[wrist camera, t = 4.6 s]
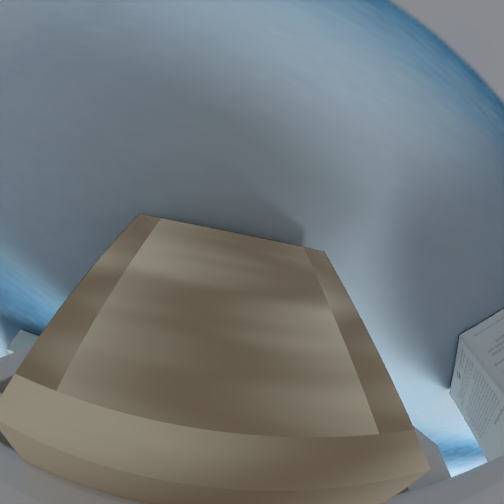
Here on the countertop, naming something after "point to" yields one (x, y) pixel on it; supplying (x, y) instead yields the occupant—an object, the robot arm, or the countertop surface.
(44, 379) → the wood grain cuboid
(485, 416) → the small box
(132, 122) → the countertop surface
